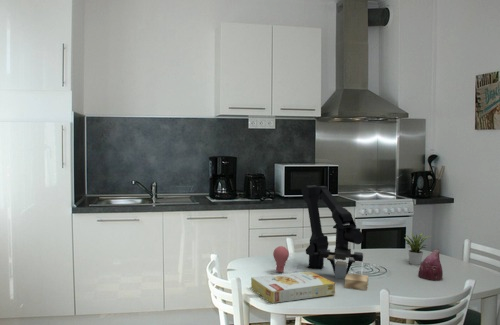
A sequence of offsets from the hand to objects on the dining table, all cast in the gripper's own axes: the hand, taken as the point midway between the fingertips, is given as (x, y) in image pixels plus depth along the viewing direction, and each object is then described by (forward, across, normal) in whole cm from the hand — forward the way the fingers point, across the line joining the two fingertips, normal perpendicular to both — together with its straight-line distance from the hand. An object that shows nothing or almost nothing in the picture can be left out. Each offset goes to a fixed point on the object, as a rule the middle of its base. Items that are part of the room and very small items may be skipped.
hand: (340, 274), depth 217 cm
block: (+2, +8, -11) cm, 13 cm away
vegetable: (+2, +39, +14) cm, 41 cm away
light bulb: (+1, -27, -3) cm, 27 cm away
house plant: (+1, +35, +38) cm, 52 cm away
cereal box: (+2, -17, -28) cm, 33 cm away
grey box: (+1, 0, 0) cm, 1 cm away
